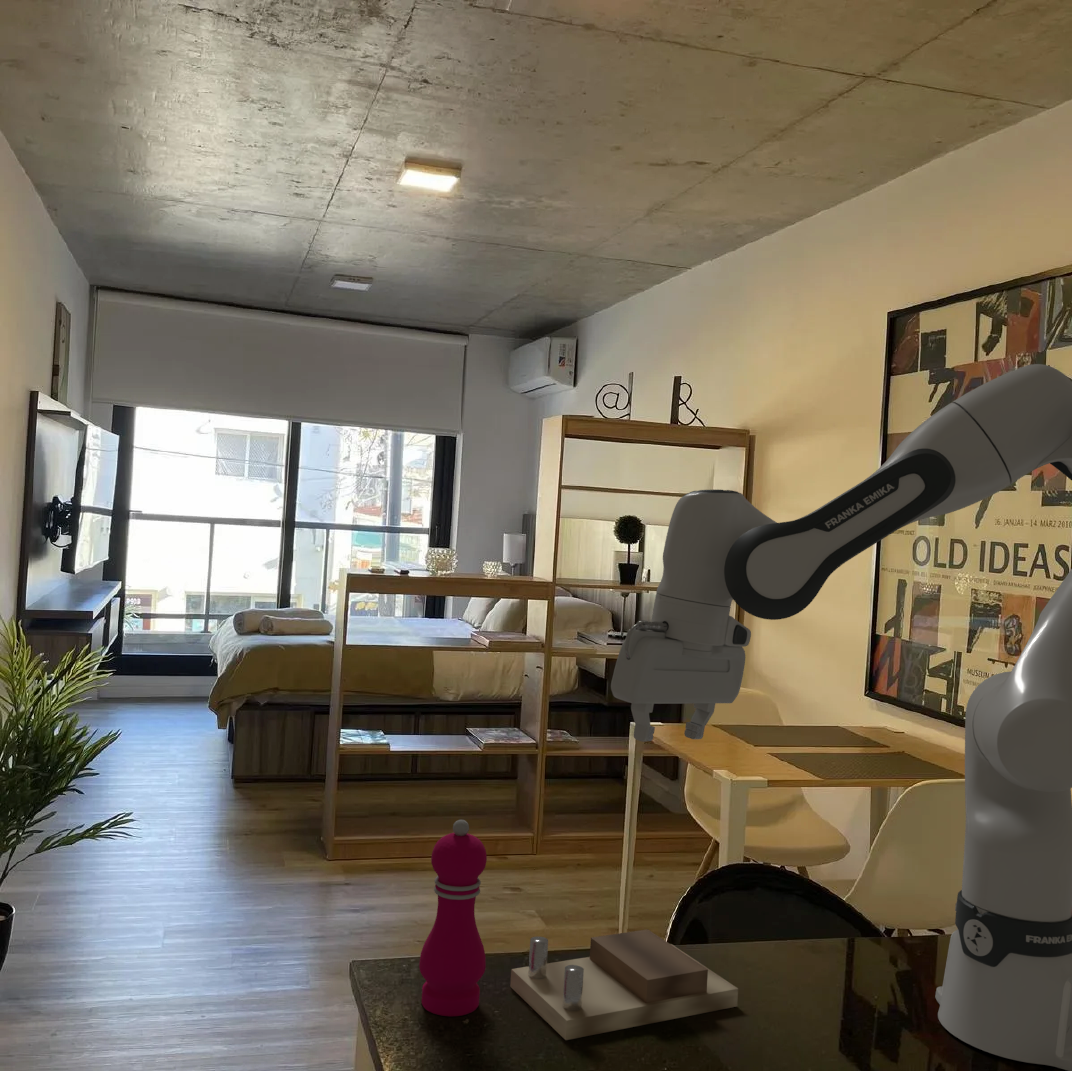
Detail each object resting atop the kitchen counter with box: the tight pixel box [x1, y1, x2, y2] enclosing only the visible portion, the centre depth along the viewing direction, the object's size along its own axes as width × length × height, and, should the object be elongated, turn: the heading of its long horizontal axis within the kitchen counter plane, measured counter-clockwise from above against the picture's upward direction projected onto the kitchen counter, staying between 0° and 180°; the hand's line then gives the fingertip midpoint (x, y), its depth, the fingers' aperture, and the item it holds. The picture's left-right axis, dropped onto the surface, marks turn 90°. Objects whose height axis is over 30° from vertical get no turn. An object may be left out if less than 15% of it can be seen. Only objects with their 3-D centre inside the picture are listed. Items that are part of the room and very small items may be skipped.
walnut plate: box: [589, 929, 709, 1003], centre depth 117 cm, size 8×12×2 cm, turn 27°
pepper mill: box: [418, 819, 488, 1017], centre depth 111 cm, size 7×7×20 cm
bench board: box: [509, 936, 739, 1041], centre depth 115 cm, size 22×13×6 cm, turn 117°
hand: (668, 739), depth 121 cm, fingers open, 8 cm apart
